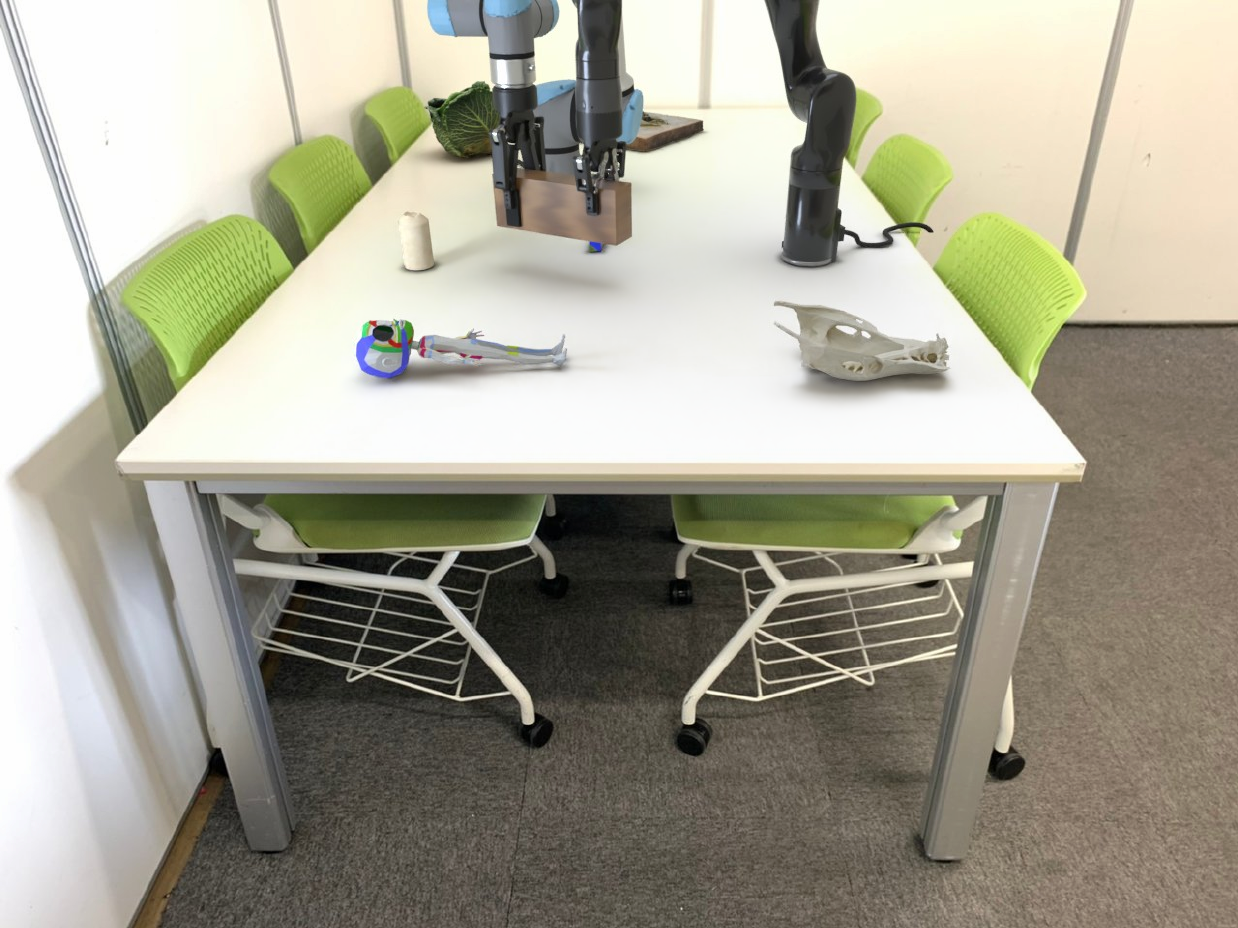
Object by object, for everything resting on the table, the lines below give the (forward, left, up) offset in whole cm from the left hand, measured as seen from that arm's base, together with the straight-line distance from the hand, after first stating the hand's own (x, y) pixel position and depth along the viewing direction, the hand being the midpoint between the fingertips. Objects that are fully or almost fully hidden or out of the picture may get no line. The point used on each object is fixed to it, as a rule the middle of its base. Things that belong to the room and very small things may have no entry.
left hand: (524, 220), depth 163 cm
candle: (-16, -13, -9) cm, 22 cm away
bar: (+8, +2, -1) cm, 8 cm away
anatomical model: (+68, +4, -9) cm, 69 cm away
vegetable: (-78, +47, -9) cm, 91 cm away
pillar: (-3, +22, -9) cm, 24 cm away
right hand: (+16, +4, +4) cm, 17 cm away
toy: (+26, -34, -9) cm, 44 cm away
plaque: (-60, +92, -9) cm, 111 cm away
